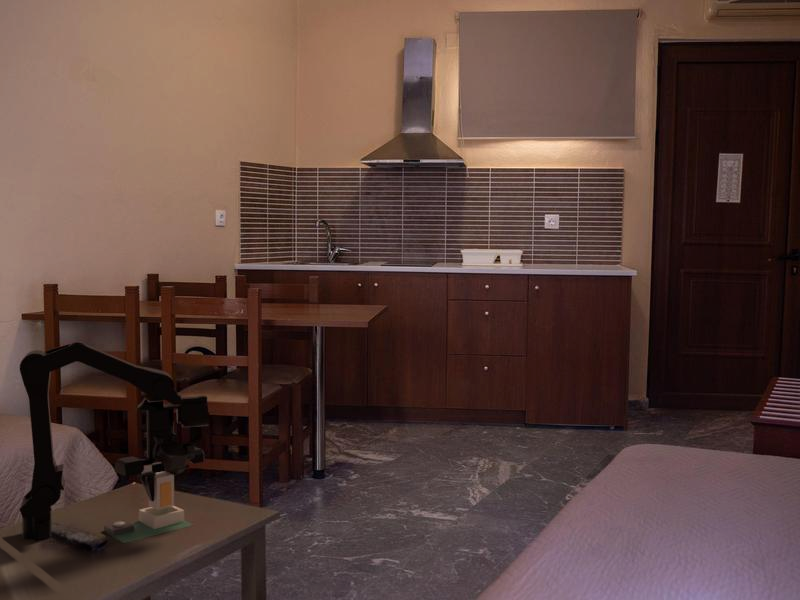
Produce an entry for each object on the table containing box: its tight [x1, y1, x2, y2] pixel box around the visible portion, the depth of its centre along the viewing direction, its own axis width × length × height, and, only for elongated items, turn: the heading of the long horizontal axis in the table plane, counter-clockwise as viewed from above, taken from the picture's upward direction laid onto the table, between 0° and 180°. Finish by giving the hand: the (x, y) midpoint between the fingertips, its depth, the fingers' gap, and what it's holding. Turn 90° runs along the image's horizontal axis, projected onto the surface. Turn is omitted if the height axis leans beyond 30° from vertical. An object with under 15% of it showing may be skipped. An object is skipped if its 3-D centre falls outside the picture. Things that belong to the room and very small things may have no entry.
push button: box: [103, 520, 134, 537], centre depth 171 cm, size 5×5×2 cm
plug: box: [148, 470, 175, 510], centre depth 176 cm, size 4×4×7 cm
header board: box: [102, 505, 194, 544], centre depth 173 cm, size 10×16×4 cm, turn 134°
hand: (161, 498), depth 177 cm, fingers closed on plug, 4 cm apart
